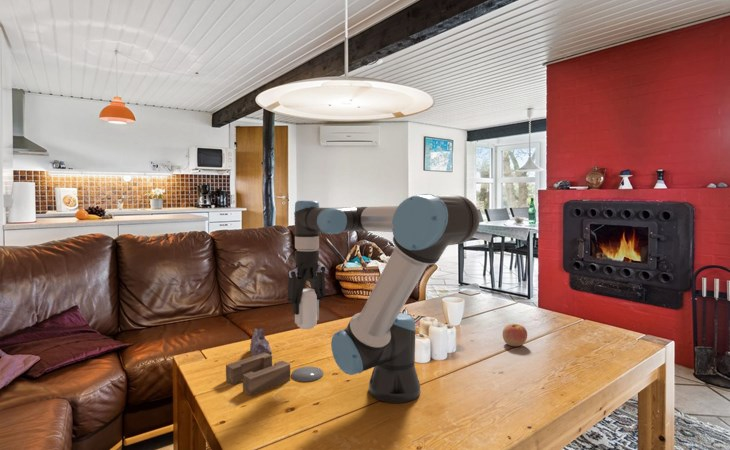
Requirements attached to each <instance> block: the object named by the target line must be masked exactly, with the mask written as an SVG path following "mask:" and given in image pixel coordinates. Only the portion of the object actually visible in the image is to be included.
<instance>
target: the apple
mask: <svg viewBox="0 0 730 450" xmlns="http://www.w3.org/2000/svg"><path fill="white" fill-rule="evenodd" d="M502 339H503V341H504V343H506V344H507V345H508V346H509V347H519V346H520V347H521V346H522V345H524V344H525V343H526V342H527V339H528V331H527V329H526V328H525V326H523V325H520V324H518V323H511V324H510V323H509V324H508V325H505V326H504V328H503V330H502Z"/></svg>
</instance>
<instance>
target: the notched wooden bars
mask: <svg viewBox="0 0 730 450" xmlns="http://www.w3.org/2000/svg"><path fill="white" fill-rule="evenodd" d="M225 381H226V382H228V383H229V384H231V385H232V386H234V385H237V384H240V383H242V392H243V393H246V395H249V396H250V397H252V396H254V395H257V394H260V393H261V392H264V391H267V390H269V389H271V388H274V387H277V386H278V385H281V384H284V383H286V382H289V381H291V364H290V363H288V362H287V361H284V360H280V361H277V362H274V364H273V355H272V354H271V355H270V354H267V353H265V352H264V353H261V354H258V355H255V356H252V355H251V356H248V357H246V358H244V359H240V360H237V361H234V362H231V363H228V364H226V365H225Z"/></svg>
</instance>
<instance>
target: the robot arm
mask: <svg viewBox="0 0 730 450" xmlns="http://www.w3.org/2000/svg"><path fill="white" fill-rule="evenodd" d="M293 214H294V248H295V249H296V250H295V251H294V262H295V267H294V269H292V270H287V272H286V273H287V277H288V283H287V284H288V285H287V303H291V304H292V312H293V314H294V324H296V325H297V324H298V325H302V304H300V301H301V297H302V292H303V289H305V288H304V287H305V284H306V283H307V280H308V281H309V285H310V289H314V290H315V293H316V295H317V321H319V320H320V309H321V301H322V300H323V298H324V297H325V296H326V281H325V272H326V266H323V265H319V263H318V262H320V256H319V255H320V251H319V248H320V233H323V234H326V235H338V234H341V233H347V232H381V233H382V232H383V233H386V232H387V233H392V235H393V237H392V242H393V245H394V249H393V251H392V253H391V254H390V256H389V258H388V260H387V262H386V263H385V266H384V268H383V270H382V272H381V274H380V276H379V278H378V279H377V281H376V283H375V285H374V287H373V289H372V291H371V293H370V295H369V296H368V298H367V300H366V302H365V305H364V306H363V308H362V310H361V312H357V313H355V314H354V315H352V317H351V318H350V320H349V322H348V324H347V326H346V327H345V328H344V329H340V330H338V331H337V332H334V333H333V335H332V336H331V337H332V338H331V343H330V348H331V351H332V352H331V353H332V356H333V359H334V362H335V363H336V365H337V367H338V368H339V369H340V370H341V371H342V373H344V374H346V375H349V376H353V375H357V374H361V373H364V372H366V371H367V370H371V369H373V370H372V373H371V375H370V378H369V382H368V392H369V394H370V395H371V396H372V397H373V398H375V399H376V400H379V401H381V402H386V403H392V404H401V403H402V404H403V403H408V402H411V401H414V400H415V399H417V398H418V397H419V396H420V395H421V382H420V380H419V377H418V372H417V370H416V365H415V364H416V363H415V361H416V331H417V330H416V321H415V318H414V317H413V316H412V315H409V314H406V313H404V312H401V311H402V309H403V308H404V306H405V304H406V302H407V301H408V299H409V298H410V296H411V294H412V293H413V291H414V289H415V287H416V286H417V284H418V282H419V281H420V279H421V278H422V276H423V274H424V272H425V270H426V269H427V267H428V266H430V265H435V264H437V263H438V262H439V260H440V258H441V257H442V255H443V253H444V252H445V250H446V248H447V247H448V246H455V245H460V244H464V243H465V242H468V241H469V240H471V239H472V238H473V237H474V236H475V234H476V233H477V231H478V229H479V225H480V218H481V217H480V213H479V210H478V208H477V206H476V205H475V204H474V203H473V201H471V200H470V199H469V198H467V197H465V196H461V195H458V194H457V195H456V194H453V195H452V194H450V195H449V194H448V195H447V194H444V195H443V194H440V195H439V194H438V195H434V194H430V193H423V194H419V195H412V196H410V197H407V198H405V199H403V200H402V201H401V202H400V204H399V205H389V206H388V205H386V206H385V205H383V206H382V205H381V206H355V207H354V206H352V207H320V203H319V201H317V200H297V201H295V203H294V212H293Z"/></svg>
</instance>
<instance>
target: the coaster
mask: <svg viewBox="0 0 730 450" xmlns="http://www.w3.org/2000/svg"><path fill="white" fill-rule="evenodd" d="M323 375H324V371H323V370H322V369H321V368H319V367H315V366H301V367H298V368H296V369H294V370H293V371H292V372H291V378H292V379H293V380H295V381H298V382H303V383H307V382H315V381H317V380H319V379H321V378H323Z"/></svg>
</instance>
